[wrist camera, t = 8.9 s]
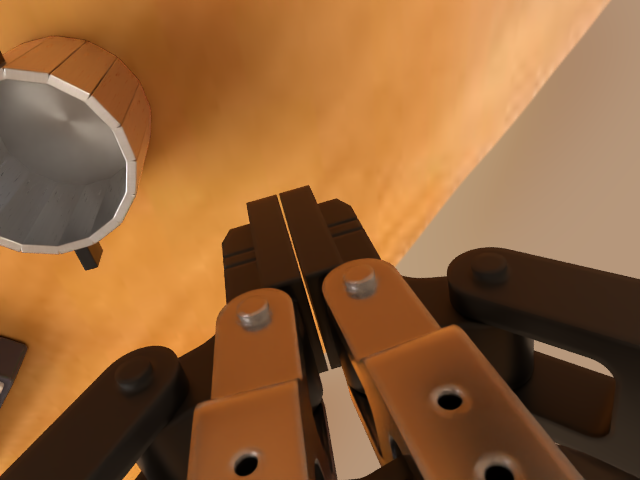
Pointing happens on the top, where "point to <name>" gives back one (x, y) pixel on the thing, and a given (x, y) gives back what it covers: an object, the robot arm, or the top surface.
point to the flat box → (9, 364)
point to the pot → (68, 146)
